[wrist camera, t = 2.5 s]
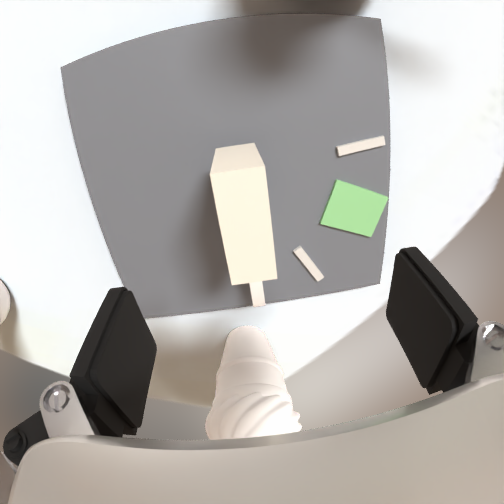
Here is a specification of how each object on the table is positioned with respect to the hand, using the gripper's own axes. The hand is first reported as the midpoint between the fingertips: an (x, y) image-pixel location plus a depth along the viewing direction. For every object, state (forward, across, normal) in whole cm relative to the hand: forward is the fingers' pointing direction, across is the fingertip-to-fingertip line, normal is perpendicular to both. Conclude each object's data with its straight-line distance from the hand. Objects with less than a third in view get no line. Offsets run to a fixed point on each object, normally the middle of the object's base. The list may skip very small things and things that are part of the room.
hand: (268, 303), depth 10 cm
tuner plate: (+15, +1, 0) cm, 15 cm away
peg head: (+13, +1, +3) cm, 14 cm away
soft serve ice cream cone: (+15, +3, +18) cm, 23 cm away
